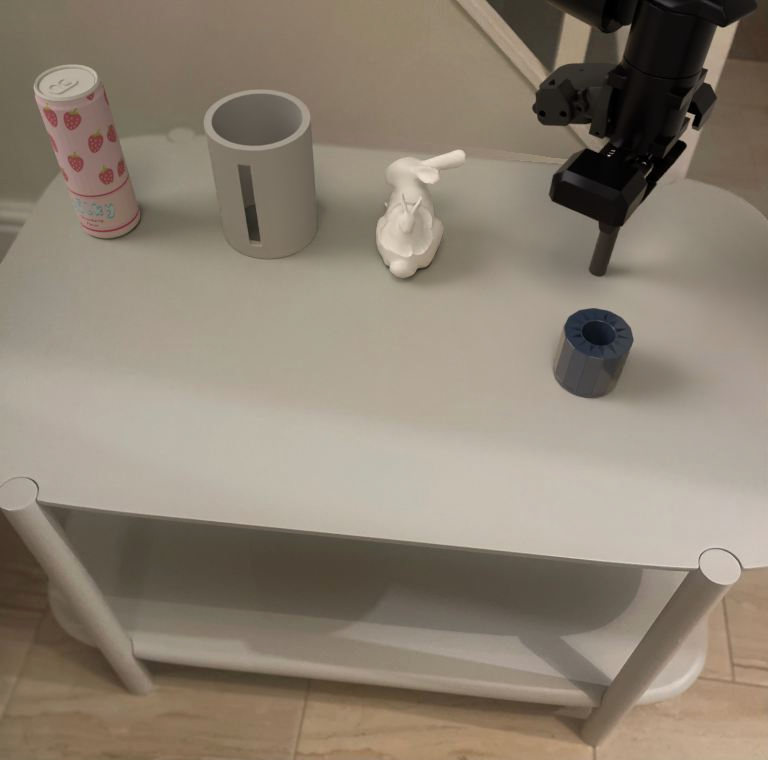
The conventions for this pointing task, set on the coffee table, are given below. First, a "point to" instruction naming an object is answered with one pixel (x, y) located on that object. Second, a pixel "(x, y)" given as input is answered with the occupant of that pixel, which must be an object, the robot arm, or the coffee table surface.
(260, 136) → the cup
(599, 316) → the pen cup
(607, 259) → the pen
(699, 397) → the coffee table surface
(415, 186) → the rabbit figurine
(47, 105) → the beverage can
